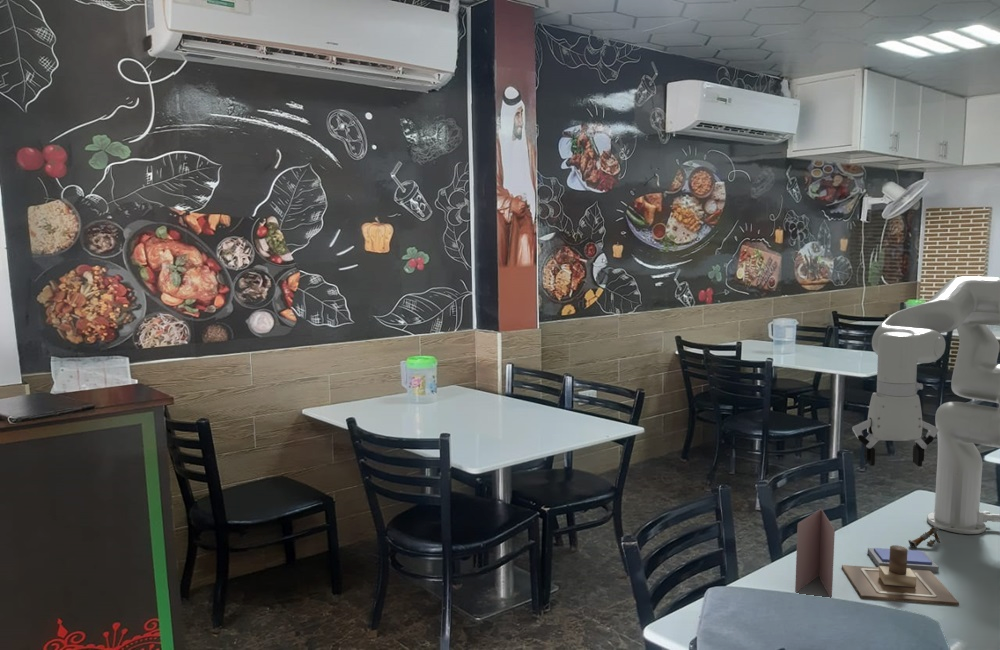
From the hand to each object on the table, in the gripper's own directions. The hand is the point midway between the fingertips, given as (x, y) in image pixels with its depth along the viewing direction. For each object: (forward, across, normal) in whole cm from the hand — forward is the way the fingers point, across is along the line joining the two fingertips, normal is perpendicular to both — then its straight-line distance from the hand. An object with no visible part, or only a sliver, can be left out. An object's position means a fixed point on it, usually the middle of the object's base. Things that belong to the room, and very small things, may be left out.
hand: (893, 464), depth 158 cm
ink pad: (+23, -2, 0) cm, 23 cm away
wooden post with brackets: (+24, -11, -10) cm, 28 cm away
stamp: (+22, +3, +12) cm, 25 cm away
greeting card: (+22, +19, +16) cm, 33 cm away
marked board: (+22, +3, +12) cm, 26 cm away
